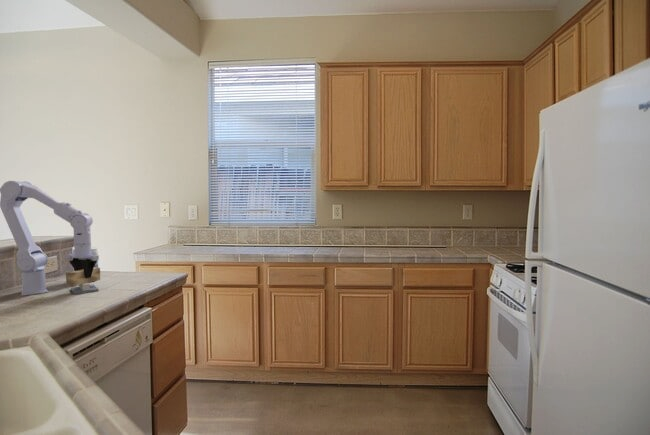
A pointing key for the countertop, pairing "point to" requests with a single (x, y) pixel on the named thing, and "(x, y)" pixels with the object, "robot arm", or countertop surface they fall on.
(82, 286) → the fulcrum stand
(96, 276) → the oak stick
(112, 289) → the countertop surface
